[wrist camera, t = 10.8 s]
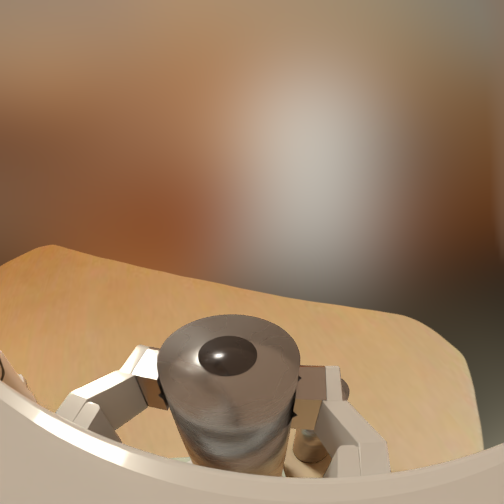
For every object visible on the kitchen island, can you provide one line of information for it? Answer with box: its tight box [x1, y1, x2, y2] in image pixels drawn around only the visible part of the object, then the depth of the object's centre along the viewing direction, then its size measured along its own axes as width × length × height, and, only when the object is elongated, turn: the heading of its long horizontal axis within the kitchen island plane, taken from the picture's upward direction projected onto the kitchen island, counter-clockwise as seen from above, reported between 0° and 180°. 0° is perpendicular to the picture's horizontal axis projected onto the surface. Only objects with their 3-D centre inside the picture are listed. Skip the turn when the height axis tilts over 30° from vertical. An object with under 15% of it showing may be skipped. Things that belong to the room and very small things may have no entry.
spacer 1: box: [157, 315, 300, 477], centre depth 11 cm, size 4×4×12 cm
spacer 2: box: [293, 379, 349, 463], centre depth 26 cm, size 4×4×12 cm
